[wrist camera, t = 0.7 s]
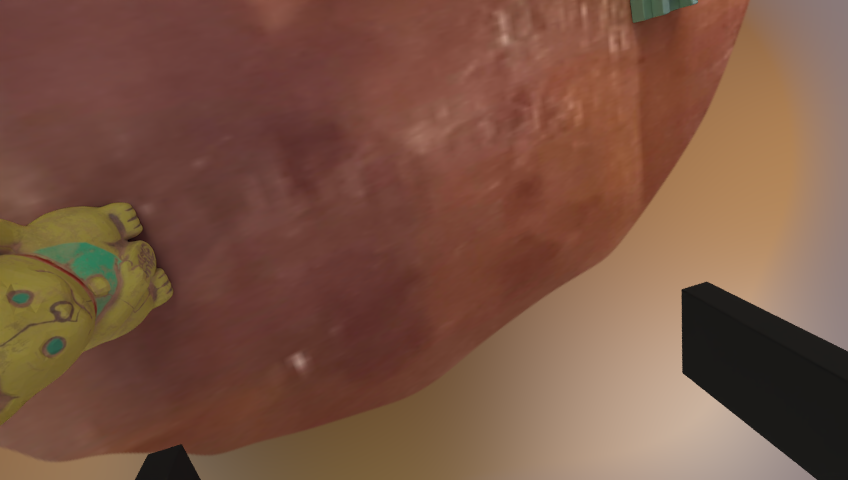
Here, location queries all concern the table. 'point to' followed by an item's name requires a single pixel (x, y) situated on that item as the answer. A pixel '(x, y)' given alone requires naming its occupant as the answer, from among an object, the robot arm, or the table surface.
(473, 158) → the table surface
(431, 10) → the table surface
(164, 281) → the figurine
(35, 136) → the table surface
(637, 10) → the green l-shaped bracket
